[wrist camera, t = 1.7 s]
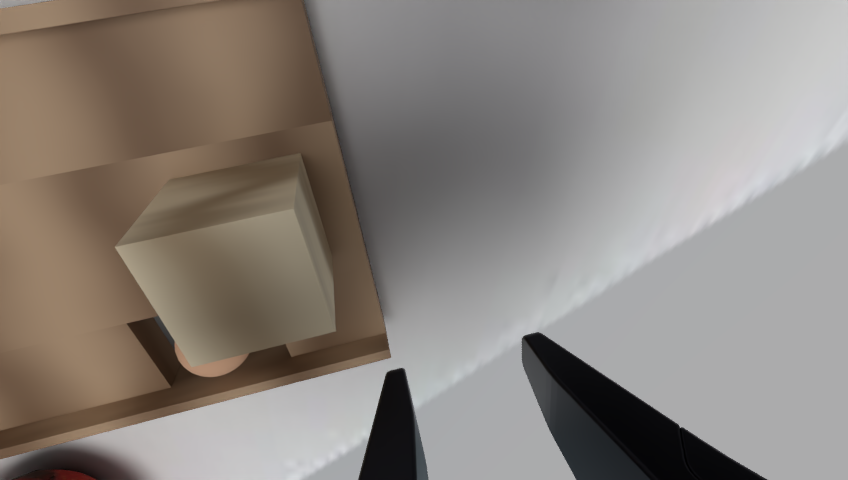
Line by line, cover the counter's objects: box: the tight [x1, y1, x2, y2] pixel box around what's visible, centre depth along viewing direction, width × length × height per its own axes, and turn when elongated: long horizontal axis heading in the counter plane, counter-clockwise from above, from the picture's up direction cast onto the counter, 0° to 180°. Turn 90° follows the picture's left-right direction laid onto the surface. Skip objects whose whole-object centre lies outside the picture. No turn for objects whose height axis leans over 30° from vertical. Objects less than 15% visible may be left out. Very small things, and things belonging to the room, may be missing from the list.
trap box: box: [0, 0, 391, 459], centre depth 17 cm, size 23×17×4 cm
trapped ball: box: [174, 342, 249, 377], centre depth 20 cm, size 3×3×3 cm
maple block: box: [115, 153, 336, 367], centre depth 15 cm, size 5×5×5 cm
